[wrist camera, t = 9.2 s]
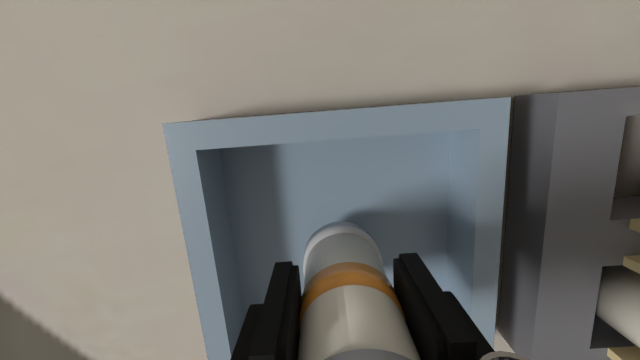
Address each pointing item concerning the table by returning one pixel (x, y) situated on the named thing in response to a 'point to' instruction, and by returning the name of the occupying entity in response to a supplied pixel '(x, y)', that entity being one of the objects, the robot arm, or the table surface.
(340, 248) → the marked fuse
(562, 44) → the table surface
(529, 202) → the fuse holder
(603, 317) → the fuse
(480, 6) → the table surface
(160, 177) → the table surface
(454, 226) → the tray
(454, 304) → the robot arm
